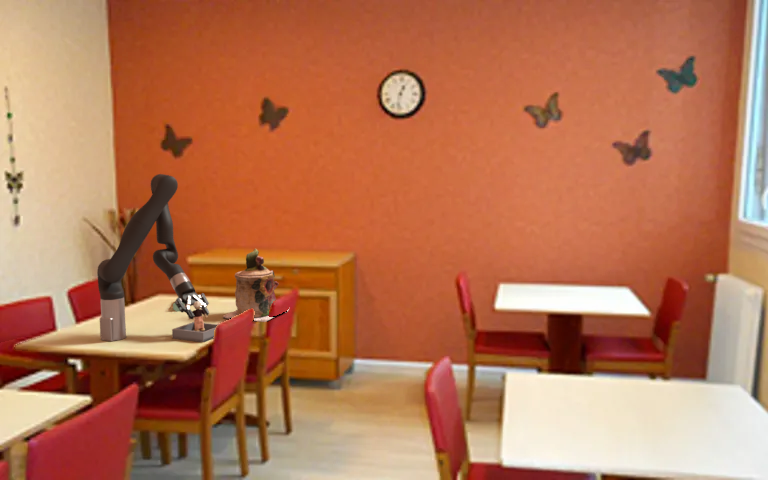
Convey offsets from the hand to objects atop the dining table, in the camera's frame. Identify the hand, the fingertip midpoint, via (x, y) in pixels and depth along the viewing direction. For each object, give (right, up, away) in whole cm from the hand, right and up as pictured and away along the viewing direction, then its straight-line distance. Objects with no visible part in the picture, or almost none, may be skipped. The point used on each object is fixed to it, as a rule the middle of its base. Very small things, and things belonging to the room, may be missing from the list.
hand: (200, 316), depth 284 cm
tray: (-1, -9, +2) cm, 9 cm away
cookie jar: (+16, -4, +41) cm, 45 cm away
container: (-27, -2, +63) cm, 68 cm away
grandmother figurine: (-1, -6, +2) cm, 7 cm away
